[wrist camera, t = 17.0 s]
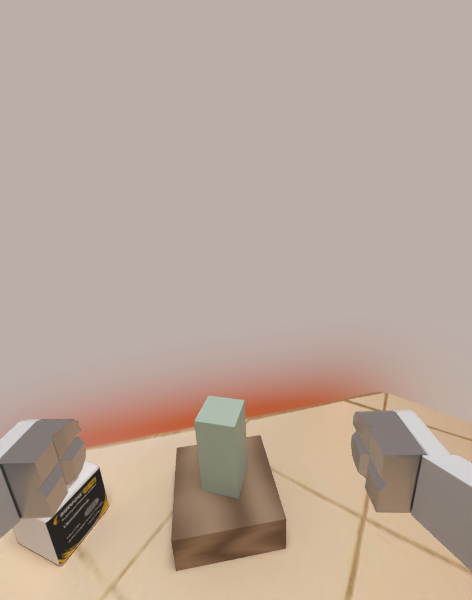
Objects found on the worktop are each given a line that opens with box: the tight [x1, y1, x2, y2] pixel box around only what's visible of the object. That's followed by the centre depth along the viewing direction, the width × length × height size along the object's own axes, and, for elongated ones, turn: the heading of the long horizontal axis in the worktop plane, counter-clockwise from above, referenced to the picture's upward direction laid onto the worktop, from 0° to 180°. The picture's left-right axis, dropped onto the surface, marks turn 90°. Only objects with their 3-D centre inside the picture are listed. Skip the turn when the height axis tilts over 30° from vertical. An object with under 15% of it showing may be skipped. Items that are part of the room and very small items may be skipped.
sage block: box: [195, 396, 247, 499], centre depth 34 cm, size 4×4×10 cm
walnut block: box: [171, 435, 286, 571], centre depth 36 cm, size 12×12×5 cm
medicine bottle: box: [13, 461, 108, 566], centre depth 34 cm, size 7×7×12 cm
